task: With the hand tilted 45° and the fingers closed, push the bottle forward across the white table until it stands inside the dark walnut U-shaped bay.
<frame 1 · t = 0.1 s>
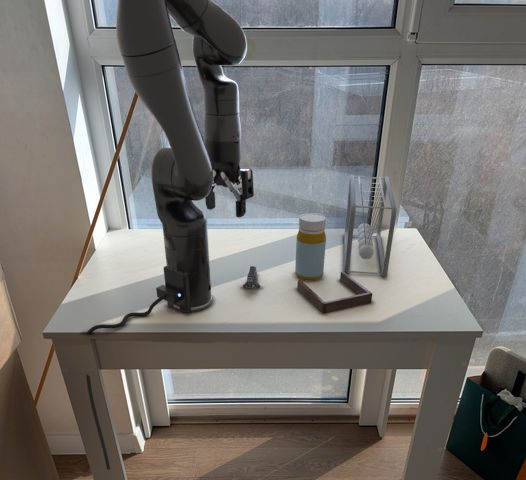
hand: (225, 212, 115), 17 cm above the table, tool pointing down, fingers open, 8 cm apart
newton's cradle: (363, 255, 138), on the table
bay: (333, 296, 118), on the table
bottle: (308, 276, 127), on the table
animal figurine: (252, 286, 123), on the table
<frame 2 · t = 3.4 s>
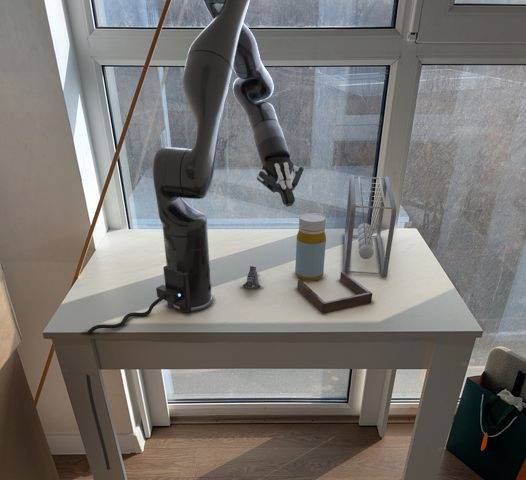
hand: (290, 204, 128), 14 cm above the table, tool tilted 45°, fingers closed
nothing on the table moved.
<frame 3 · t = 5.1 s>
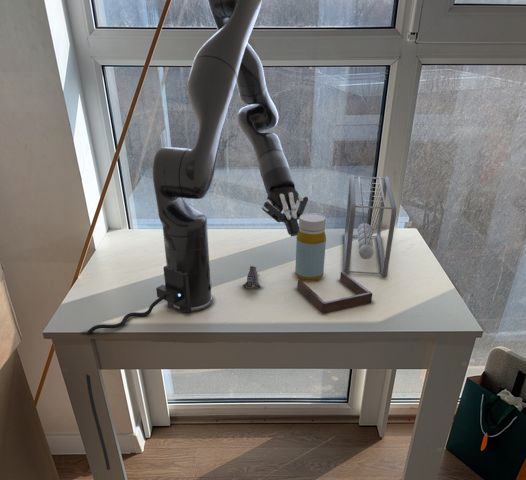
hand: (295, 234, 129), 8 cm above the table, tool tilted 45°, fingers closed
nothing on the table moved.
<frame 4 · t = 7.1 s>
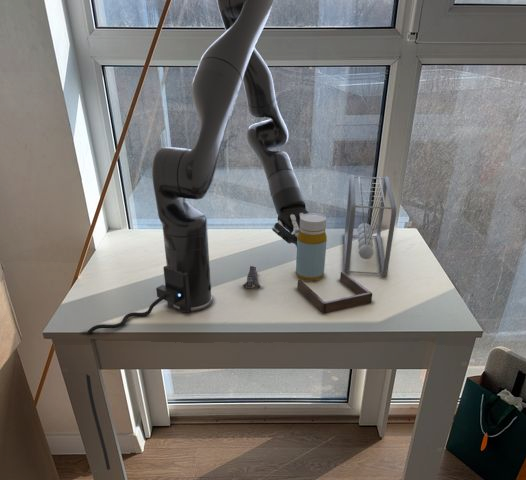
hand: (306, 256, 126), 4 cm above the table, tool tilted 45°, fingers closed
bottle: (309, 276, 127), on the table, touching gripper
everything else where it was.
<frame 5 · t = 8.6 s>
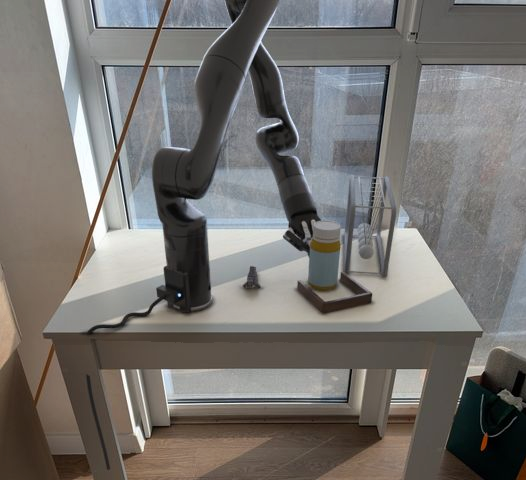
hand: (318, 264, 122), 4 cm above the table, tool tilted 45°, fingers closed
bottle: (322, 285, 123), on the table, touching gripper
everything else where it was.
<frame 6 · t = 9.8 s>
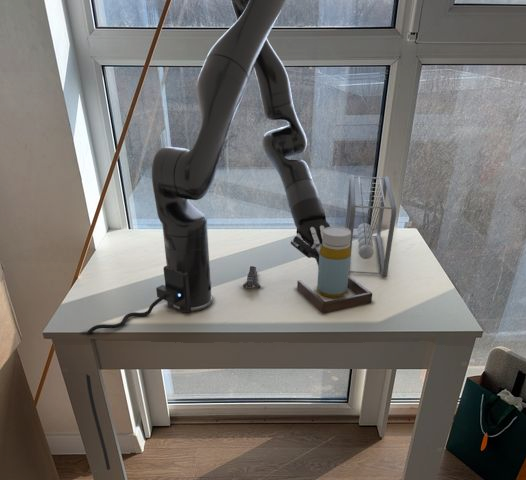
hand: (327, 271, 119), 4 cm above the table, tool tilted 45°, fingers closed
bottle: (331, 292, 120), on the table, touching gripper
everything else where it was.
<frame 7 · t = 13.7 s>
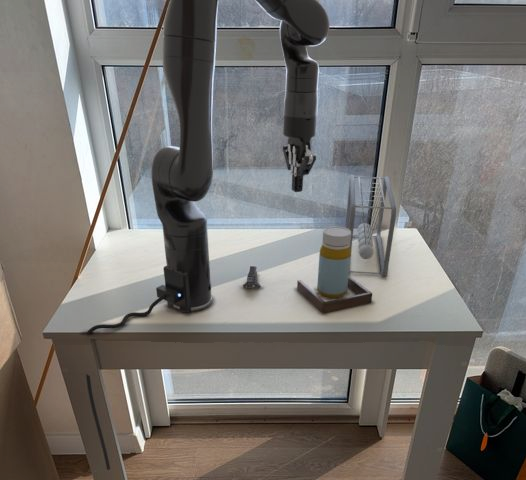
hand: (297, 191, 123), 19 cm above the table, tool pointing down, fingers closed
bottle: (331, 293, 120), on the table
everything else where it was.
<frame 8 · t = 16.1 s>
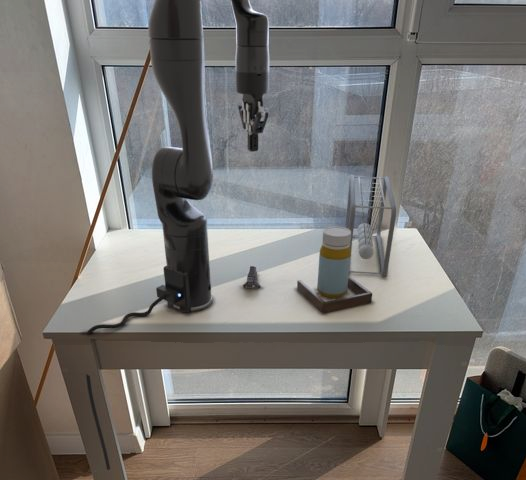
hand: (252, 150, 123), 27 cm above the table, tool pointing down, fingers closed
nothing on the table moved.
at the end: bottle 2.0 cm from the bay (horizontally); bottle tilted 0° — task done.
